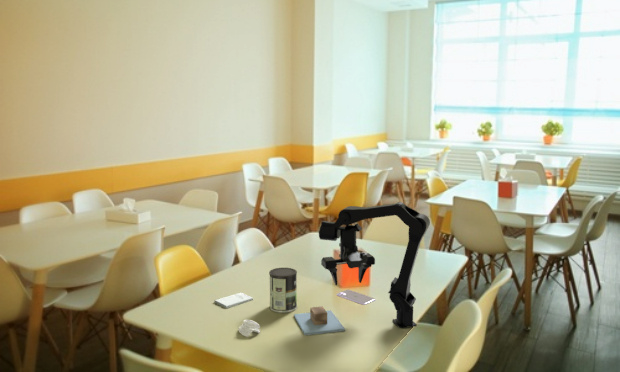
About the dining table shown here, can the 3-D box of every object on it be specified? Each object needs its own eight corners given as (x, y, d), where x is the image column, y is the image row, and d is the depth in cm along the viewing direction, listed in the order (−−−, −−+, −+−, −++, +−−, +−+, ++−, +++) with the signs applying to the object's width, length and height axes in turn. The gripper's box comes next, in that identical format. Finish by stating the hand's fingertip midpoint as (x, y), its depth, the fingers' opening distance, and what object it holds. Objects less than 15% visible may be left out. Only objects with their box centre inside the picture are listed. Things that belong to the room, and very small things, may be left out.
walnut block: (322, 317, 185) (322, 306, 185) (327, 323, 180) (327, 312, 179) (310, 318, 184) (310, 307, 184) (314, 325, 178) (314, 314, 178)
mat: (344, 330, 176) (344, 328, 176) (304, 335, 173) (304, 333, 172) (330, 312, 191) (330, 310, 191) (293, 316, 188) (293, 314, 188)
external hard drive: (214, 303, 201) (240, 295, 209) (226, 310, 195) (253, 301, 203) (214, 299, 201) (240, 291, 209) (226, 305, 195) (253, 297, 203)
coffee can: (294, 301, 202) (294, 266, 199) (298, 312, 192) (298, 275, 189) (268, 303, 200) (268, 267, 198) (270, 313, 190) (270, 276, 188)
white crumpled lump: (234, 334, 176) (232, 320, 175) (250, 326, 180) (248, 313, 180) (249, 340, 170) (247, 326, 169) (265, 332, 175) (263, 318, 174)
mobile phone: (364, 303, 198) (335, 293, 209) (364, 306, 198) (335, 295, 209) (376, 298, 203) (347, 288, 214) (376, 300, 204) (347, 290, 214)
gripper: (330, 250, 175) (330, 294, 178) (381, 245, 180) (381, 288, 183) (320, 242, 186) (320, 283, 188) (369, 237, 191) (368, 278, 193)
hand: (348, 283), depth 188 cm, fingers open, 9 cm apart
